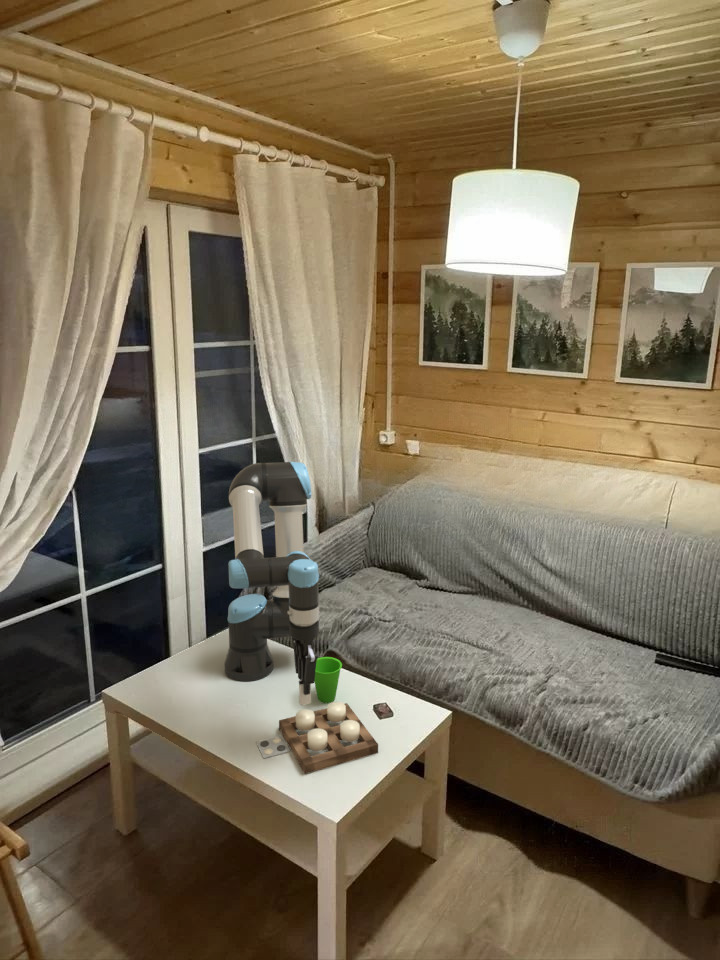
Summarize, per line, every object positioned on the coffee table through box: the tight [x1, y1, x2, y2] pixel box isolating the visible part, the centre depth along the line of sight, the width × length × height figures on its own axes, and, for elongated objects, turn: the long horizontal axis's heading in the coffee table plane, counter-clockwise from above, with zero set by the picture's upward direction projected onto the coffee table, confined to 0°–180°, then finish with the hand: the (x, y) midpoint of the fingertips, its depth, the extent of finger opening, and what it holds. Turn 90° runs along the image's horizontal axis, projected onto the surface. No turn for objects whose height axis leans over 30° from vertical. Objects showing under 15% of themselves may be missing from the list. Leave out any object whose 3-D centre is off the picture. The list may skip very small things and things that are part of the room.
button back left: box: [326, 701, 346, 723], centre depth 185 cm, size 5×5×3 cm
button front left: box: [339, 720, 360, 743], centre depth 177 cm, size 5×5×3 cm
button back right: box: [295, 709, 315, 732], centre depth 181 cm, size 5×5×3 cm
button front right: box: [307, 728, 327, 752], centre depth 173 cm, size 5×5×3 cm
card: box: [255, 734, 291, 760], centre depth 177 cm, size 7×7×1 cm
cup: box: [314, 656, 343, 704], centre depth 197 cm, size 9×9×11 cm
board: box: [278, 702, 379, 775], centre depth 180 cm, size 20×20×2 cm
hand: (305, 702), depth 179 cm, fingers closed
